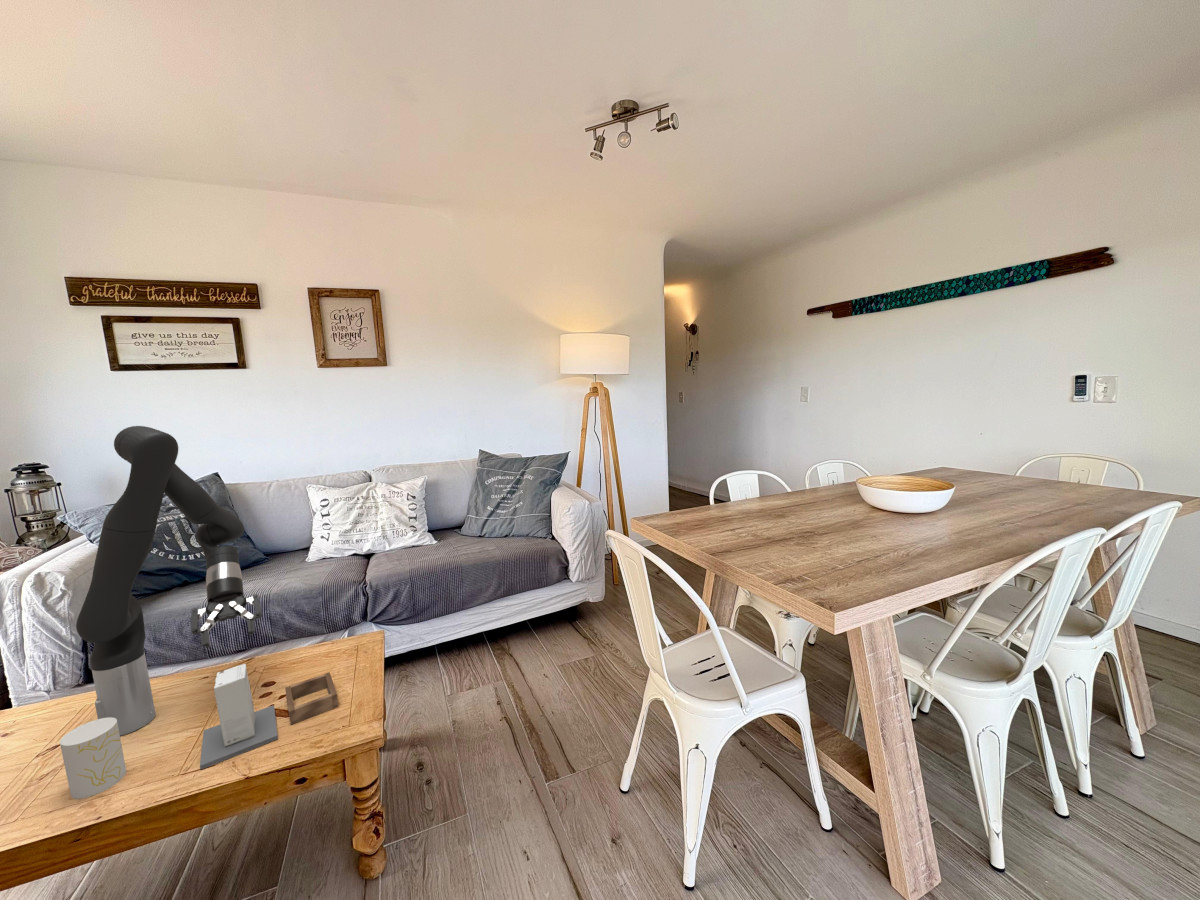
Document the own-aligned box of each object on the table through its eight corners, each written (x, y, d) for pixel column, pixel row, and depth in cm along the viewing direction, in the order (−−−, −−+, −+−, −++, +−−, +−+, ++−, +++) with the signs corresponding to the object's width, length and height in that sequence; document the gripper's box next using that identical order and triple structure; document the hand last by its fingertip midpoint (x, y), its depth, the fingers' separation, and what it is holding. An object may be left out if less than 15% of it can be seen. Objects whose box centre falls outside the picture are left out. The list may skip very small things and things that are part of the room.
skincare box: (255, 736, 110) (246, 677, 108) (222, 748, 107) (213, 688, 105) (255, 717, 117) (247, 661, 115) (224, 727, 113) (215, 670, 112)
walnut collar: (290, 725, 115) (288, 711, 115) (286, 699, 125) (285, 687, 124) (338, 706, 121) (336, 694, 121) (331, 683, 131) (329, 672, 131)
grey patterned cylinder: (86, 802, 95) (76, 748, 93) (60, 794, 97) (49, 741, 95) (135, 770, 103) (126, 720, 101) (110, 764, 105) (101, 714, 103)
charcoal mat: (200, 770, 102) (199, 765, 102) (204, 733, 113) (203, 730, 113) (277, 739, 110) (277, 735, 110) (274, 708, 121) (273, 704, 121)
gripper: (187, 584, 119) (189, 645, 112) (256, 569, 128) (263, 625, 120) (192, 597, 124) (195, 656, 116) (258, 582, 133) (265, 636, 125)
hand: (229, 640), depth 118 cm, fingers open, 8 cm apart
